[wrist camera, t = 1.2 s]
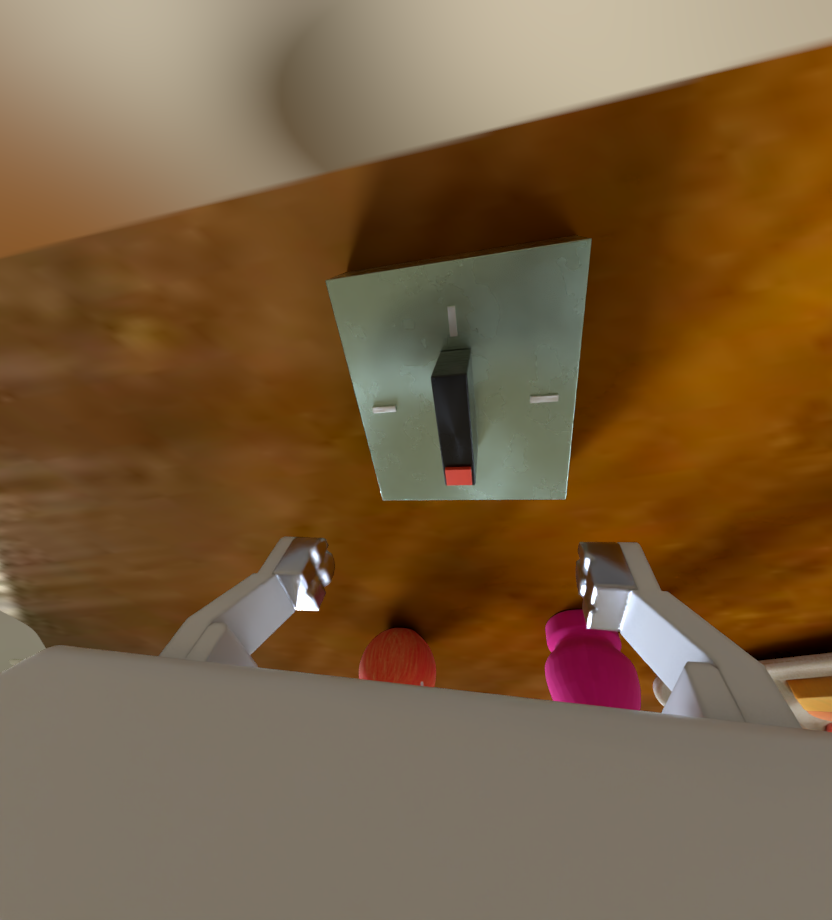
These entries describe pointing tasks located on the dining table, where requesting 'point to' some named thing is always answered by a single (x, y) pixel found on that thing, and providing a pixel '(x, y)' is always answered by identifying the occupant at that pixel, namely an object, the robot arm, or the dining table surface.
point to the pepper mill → (588, 665)
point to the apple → (398, 659)
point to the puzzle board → (794, 688)
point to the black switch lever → (456, 416)
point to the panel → (493, 364)
